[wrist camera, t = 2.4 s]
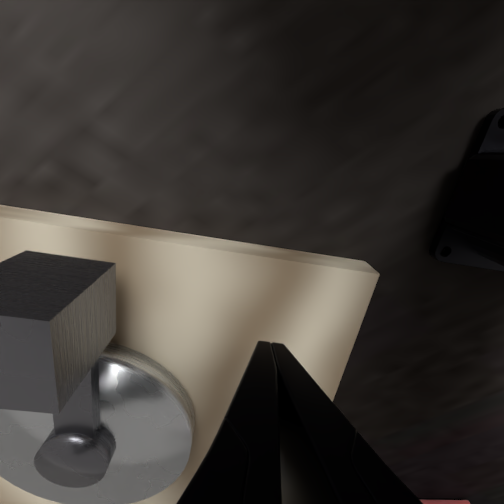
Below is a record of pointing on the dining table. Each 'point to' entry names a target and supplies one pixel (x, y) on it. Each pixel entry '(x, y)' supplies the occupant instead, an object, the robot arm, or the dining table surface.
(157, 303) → the dial board
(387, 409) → the dining table surface
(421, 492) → the dining table surface
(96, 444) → the dial
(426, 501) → the ink cartridge box
